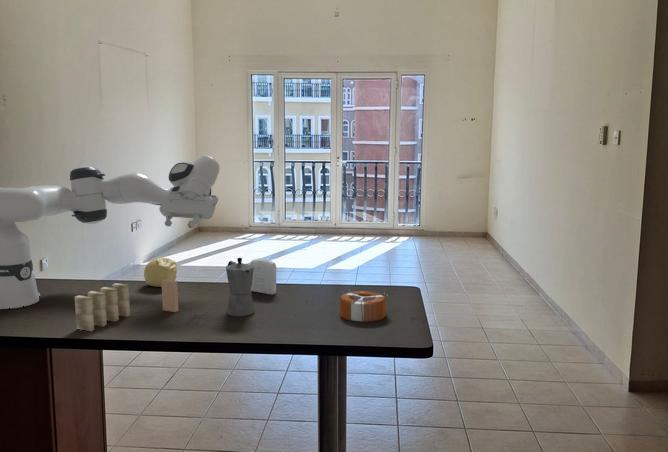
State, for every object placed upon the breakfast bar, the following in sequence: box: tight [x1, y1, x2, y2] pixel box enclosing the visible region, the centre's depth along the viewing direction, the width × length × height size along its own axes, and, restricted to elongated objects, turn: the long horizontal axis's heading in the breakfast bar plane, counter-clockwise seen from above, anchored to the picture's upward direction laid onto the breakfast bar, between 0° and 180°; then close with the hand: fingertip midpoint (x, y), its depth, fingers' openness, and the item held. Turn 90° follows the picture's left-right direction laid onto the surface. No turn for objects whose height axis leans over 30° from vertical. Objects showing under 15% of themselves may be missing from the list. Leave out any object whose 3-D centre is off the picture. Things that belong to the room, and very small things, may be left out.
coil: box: [339, 290, 388, 323], centre depth 183 cm, size 7×15×15 cm
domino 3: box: [99, 286, 120, 323], centre depth 177 cm, size 5×2×10 cm, turn 68°
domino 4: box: [111, 282, 131, 318], centre depth 182 cm, size 5×2×10 cm, turn 68°
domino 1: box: [74, 294, 95, 332], centre depth 168 cm, size 5×2×10 cm, turn 68°
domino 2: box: [87, 290, 108, 327], centre depth 173 cm, size 5×2×10 cm, turn 68°
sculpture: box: [143, 256, 178, 288], centre depth 217 cm, size 11×12×11 cm
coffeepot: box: [225, 257, 255, 317], centre depth 186 cm, size 15×9×18 cm, turn 33°
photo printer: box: [249, 258, 277, 295], centre depth 209 cm, size 10×4×12 cm, turn 60°
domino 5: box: [161, 279, 179, 313], centre depth 187 cm, size 5×2×10 cm, turn 68°
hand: (178, 226), depth 195 cm, fingers open, 8 cm apart
